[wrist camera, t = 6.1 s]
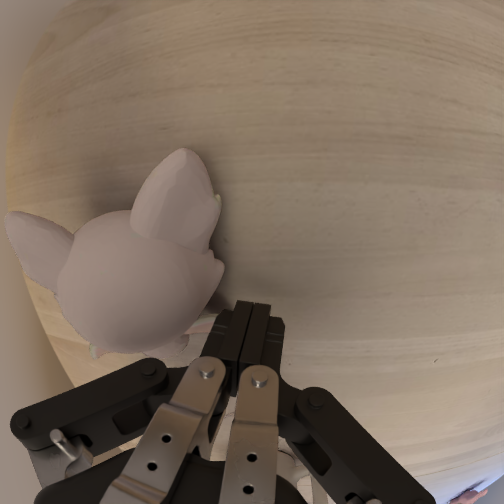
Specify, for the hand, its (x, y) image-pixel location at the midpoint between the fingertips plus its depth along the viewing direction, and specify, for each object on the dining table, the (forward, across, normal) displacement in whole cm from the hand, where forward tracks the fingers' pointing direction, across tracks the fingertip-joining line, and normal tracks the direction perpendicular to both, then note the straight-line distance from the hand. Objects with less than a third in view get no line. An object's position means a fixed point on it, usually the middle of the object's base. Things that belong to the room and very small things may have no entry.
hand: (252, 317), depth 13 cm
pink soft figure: (+3, -49, +49) cm, 69 cm away
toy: (+3, +4, 0) cm, 5 cm away
